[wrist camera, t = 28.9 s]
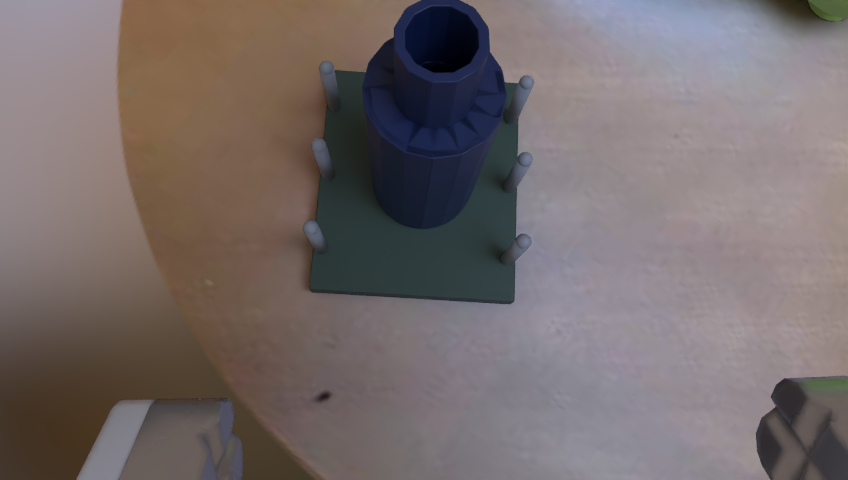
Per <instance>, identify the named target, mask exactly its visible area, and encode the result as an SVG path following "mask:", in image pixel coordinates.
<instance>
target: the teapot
mask: <svg viewBox="0 0 848 480" xmlns="http://www.w3.org/2000/svg"><path fill="white" fill-rule="evenodd" d="M808 3H809V5H810V7H811V9H812V10H813V12H814V13H815V14H816V15H818V16H819V17H821V18H823V19H825V20H828V21H840V20H842V19H844V18H848V0H808Z"/></svg>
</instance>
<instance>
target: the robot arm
mask: <svg viewBox="0 0 848 480" xmlns="http://www.w3.org/2000/svg"><path fill="white" fill-rule="evenodd" d="M771 398H772V400H773V402H774V404H775V406H776V407H775V408H774V409H773V410H771V411H770V412H769V413H767V414H766V415H765V416H763V417H762V418H761V421H760V424H759V427H758V429H757V432H756V441H757V452H758V455H759V458H760V461H761V464H762V466H763V468H764V469H765V471H766V473H767V474H768V476H769V478H770V479H771V480H848V376H828V377H806V378H784V379H783V380H782V381H781V382H779V383H778V384H777V385H776V386H775V389H774V391H773V393H772V395H771ZM234 418H235V414H234V410H233V406H232V402H231V400H229V399H227V398H202V399H201V398H199V399H198V398H192V399H154V400H120V401H119V402H118V403H117V404H116V405H115V406H114V407H113V408H112V409H111V411H110V413H109V415H108V417H107V419H106V421H105V423H104V425H103V427H102V429H101V431H100V433H99V435H98V437H97V439H96V441H95V443H94V445H93V447H92V449H91V451H90V453H89V455H88V457H87V459H86V461H85V463H84V465H83V467H82V469H81V471H80V473H79V475H78V477H77V479H76V480H242V472H243V454H242V446H241V441H240V437H239V436H238V435H236V434H235V433H234V432H232V431H231V430H232V426H233V422H234Z"/></svg>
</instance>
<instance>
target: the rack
mask: <svg viewBox="0 0 848 480" xmlns="http://www.w3.org/2000/svg"><path fill="white" fill-rule="evenodd" d="M319 70H320V75H321V79H322V83H323V87H324V91H325V95H326V99H327V111H326V122H325V132H324V140H323V139H321V138H316V139H314V140H313V141H312V143H311V148H312V150H313V153H314V156H315V159H316V162H317V164H318V167H319V170H320V183H319V193H318V203H317V213H316V222H315V221H313V220H308V221H306V222H305V223H304V225H303V231H304V233H305V235H306V236H307V238H308V240H309V241H310V243H311V245H312V246H313V254H312V264H311V275H310V285H309V289H310V290H311V291H312V292H318V293H334V294H351V295H367V296H384V297H400V298H416V299H433V300H449V301H466V302H482V303H499V304H511V303H513V302H514V293H515V261H516V260H517V259H518V258H519V257H520V256H521V255H522V254H523V253H524V252H525V251H526V250H527V249H528V247H529V246H530V245H531V238H530V237H529V236H528V235H526V234H520V235H519V236H518V237H517V238H516V200H517V186H518V184H519V183H520V181H521V179H522V178H523V176H524V175H525V173H526V171H527V170H528V168H529V167H530V165H531V163H532V160H533V159H532V156H531V154H529V153H527V152H523V153H521V154H520V155H519V156H518V158H517V153H518V117H519V115H520V113H521V111H522V108H523V106H524V104H525V102H526V100H527V98H528V96H529V93H530V91H531V89H532V87H533V84H534V81H533V78H532V77H530V76H528V75H526V76H523V77H522V78H521V79H520V81H519V83H518V84H517V83H505V87H506V91H507V98H506V103H505V107H504V112H503V116H502V120H501V123H500V125H499V127H498V130H497V132H496V135H495V137H494V140H493V142H492V145H491V147H490V150H489V152H488V155H487V157H486V159H485V162H484V164H483V167H482V169H481V172H480V174H479V177H478V179H477V182H476V184H475V186H474V189H473V191H472V194H471V196H470V199H469V201H468V202H467V203H466V205H465V207H464V208H463V210H462V211H461V212H460V213H459V214H458V215H457V216H456V217H455V218H454V219H452V220H451V221H450V222H448V223H446V224H444V225H441V226H439V227H435V228H430V229H416V228H411V227H408V226H404V225H402V224H400V223H398V222H396V221H395V220H393V219H392V218H391V217H390V216H388V215H387V214H386V213H385V212H384V210H383V209H382V208H381V206H380V205H379V203H378V201H377V199H376V196H375V194H374V188H373V181H372V173H371V165H370V156H369V147H368V138H367V129H366V120H365V111H364V102H363V93H362V85H363V81H364V78H365V74H366V73H365V72H352V71H338V70H334V66H333V64H332V63H331V62H329V61H323V62H322V63H321V64H320V66H319Z"/></svg>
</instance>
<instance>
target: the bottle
mask: <svg viewBox="0 0 848 480" xmlns="http://www.w3.org/2000/svg"><path fill="white" fill-rule="evenodd" d="M362 93H363V102H364V111H365V120H366V129H367V138H368V147H369V156H370V165H371V173H372V181H373V188H374V194H375V196H376V199H377V201H378V203H379V205H380V206H381V208H382V209H383V210H384V212H385V213H386V214H387V215H388V216H390V217H391V218H392V219H393V220H395V221H396V222H398V223H400V224H402V225H404V226H408V227H411V228H416V229H430V228H435V227H439V226H441V225H444V224H446V223H448V222H450V221H451V220H452V219H454V218H455V217H456V216H457V215H458V214H459V213H460V212H461V211H462V210H463V208H464V207H465V205H466V203H467V202H468V201H469V199H470V196H471V194H472V191H473V189H474V186H475V184H476V182H477V179H478V177H479V174H480V172H481V169H482V167H483V164H484V162H485V159H486V157H487V155H488V152H489V150H490V147H491V145H492V142H493V140H494V137H495V135H496V132H497V130H498V127H499V125H500V123H501V120H502V116H503V112H504V107H505V103H506V98H507V91H506V87H505V82H504V77H503V72H502V69H501V67H500V66H499V64H498V63H497V61H496V60H495V59H494V57H493V56H492V54H491V53H490V44H489V29H488V26H487V25H486V23H485V22H484V21H483V19H482V18H481V16H480V15H479V13H478V12H477V11H476V9H474V7H472V6H470V5H468V4H466V3H464V2H462V1H460V0H421V1H419V2H417V3H415V4H413V5H411V6H409V7H408V8H407V9H405V11H404V13H403V14H402V16H401V17H400V19H399V21H398V22H397V24H396V25H395V28H394V38H392V39H390V40H388V41H386V42H385V43H384V44H383V46H382V47H381V48H380V49H379V50H378V52H377V53H376V54H375V55H374V56H373V58H372V59H371V60H370V62H369V63H368V67H367V70H366V74H365V78H364V81H363V85H362Z"/></svg>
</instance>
